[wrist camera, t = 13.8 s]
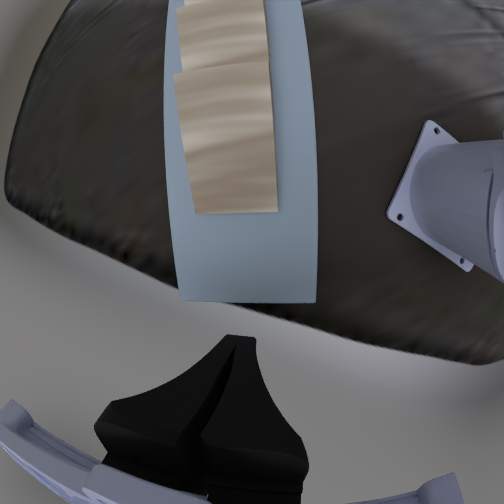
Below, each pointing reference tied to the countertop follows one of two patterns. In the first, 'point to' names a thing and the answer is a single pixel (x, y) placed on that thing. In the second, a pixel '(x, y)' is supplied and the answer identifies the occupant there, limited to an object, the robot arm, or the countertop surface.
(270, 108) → the domino
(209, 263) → the mat
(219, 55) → the domino
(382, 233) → the countertop surface
